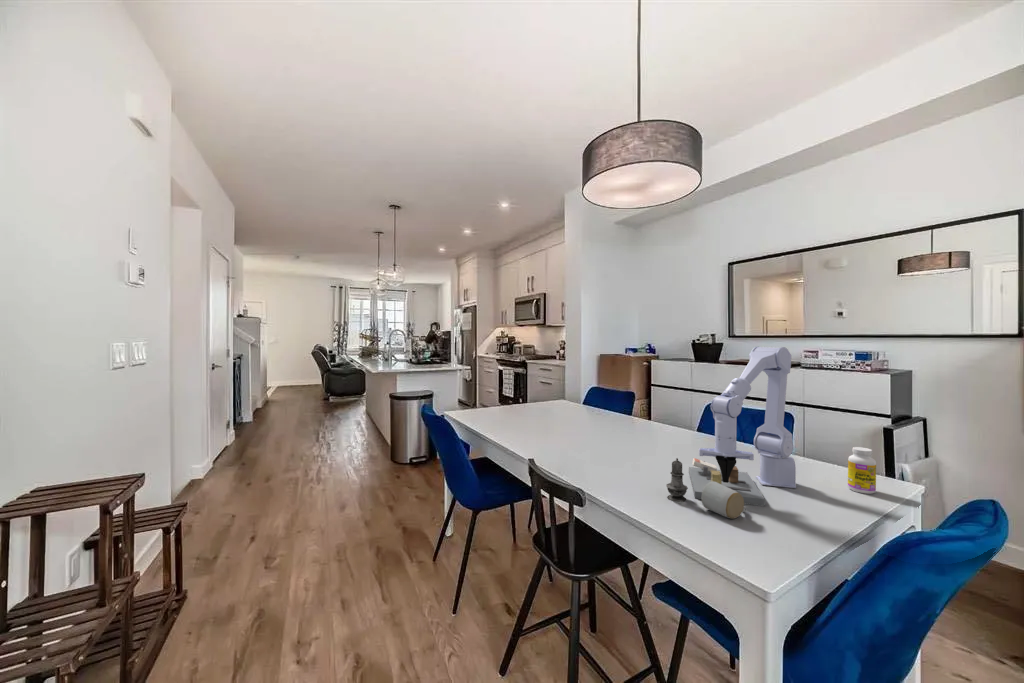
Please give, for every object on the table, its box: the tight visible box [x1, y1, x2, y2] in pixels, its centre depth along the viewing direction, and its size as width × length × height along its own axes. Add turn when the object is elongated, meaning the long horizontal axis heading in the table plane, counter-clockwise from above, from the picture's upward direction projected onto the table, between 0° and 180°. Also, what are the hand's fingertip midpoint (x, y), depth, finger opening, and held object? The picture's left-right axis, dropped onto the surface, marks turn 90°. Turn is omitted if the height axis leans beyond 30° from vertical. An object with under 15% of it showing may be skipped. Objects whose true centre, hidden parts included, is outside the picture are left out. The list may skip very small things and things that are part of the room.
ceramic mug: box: [700, 481, 746, 519], centre depth 113 cm, size 11×8×8 cm
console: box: [688, 460, 766, 507], centre depth 131 cm, size 18×24×5 cm
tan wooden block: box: [711, 470, 721, 484], centre depth 126 cm, size 2×4×4 cm, turn 161°
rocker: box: [691, 457, 718, 472], centre depth 140 cm, size 7×5×2 cm
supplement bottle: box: [847, 446, 877, 495], centre depth 128 cm, size 7×7×13 cm
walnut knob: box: [729, 465, 739, 483], centre depth 131 cm, size 2×4×4 cm, turn 161°
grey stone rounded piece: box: [666, 457, 689, 503], centre depth 122 cm, size 6×6×12 cm
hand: (725, 481), depth 125 cm, fingers closed
